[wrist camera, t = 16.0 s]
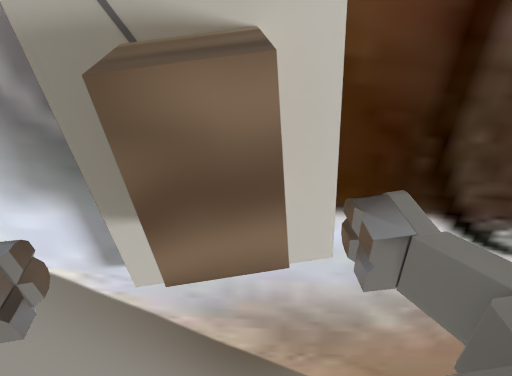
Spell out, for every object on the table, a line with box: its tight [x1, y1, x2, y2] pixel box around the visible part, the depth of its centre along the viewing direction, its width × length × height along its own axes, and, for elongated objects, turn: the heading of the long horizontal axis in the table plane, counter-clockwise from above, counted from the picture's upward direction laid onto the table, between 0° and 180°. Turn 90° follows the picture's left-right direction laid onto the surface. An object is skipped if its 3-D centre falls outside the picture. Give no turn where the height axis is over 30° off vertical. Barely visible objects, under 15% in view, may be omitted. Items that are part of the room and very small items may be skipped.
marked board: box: [0, 0, 347, 287], centre depth 17 cm, size 22×14×2 cm, turn 5°
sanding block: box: [82, 26, 289, 287], centre depth 15 cm, size 10×6×5 cm, turn 6°
